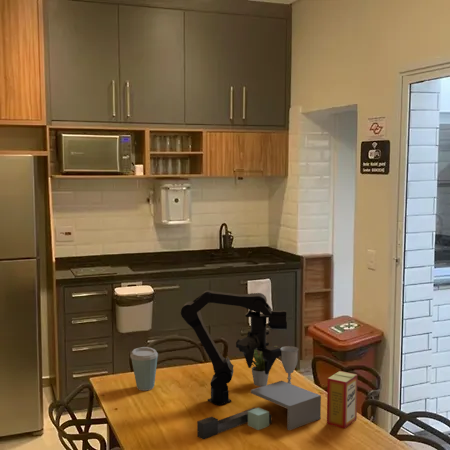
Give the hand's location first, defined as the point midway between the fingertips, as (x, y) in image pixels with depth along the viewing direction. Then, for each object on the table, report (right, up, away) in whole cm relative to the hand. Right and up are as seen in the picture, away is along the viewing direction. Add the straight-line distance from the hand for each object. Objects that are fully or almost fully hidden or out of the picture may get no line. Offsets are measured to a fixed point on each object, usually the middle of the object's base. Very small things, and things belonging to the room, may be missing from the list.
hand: (258, 370), depth 224 cm
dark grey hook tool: (-9, -14, -22) cm, 27 cm away
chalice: (+12, -12, +8) cm, 19 cm away
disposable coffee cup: (-43, -11, +16) cm, 47 cm away
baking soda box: (+28, -14, -15) cm, 34 cm away
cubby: (+9, -13, -10) cm, 19 cm away
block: (-1, -14, -19) cm, 23 cm away
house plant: (+3, -10, +21) cm, 23 cm away
